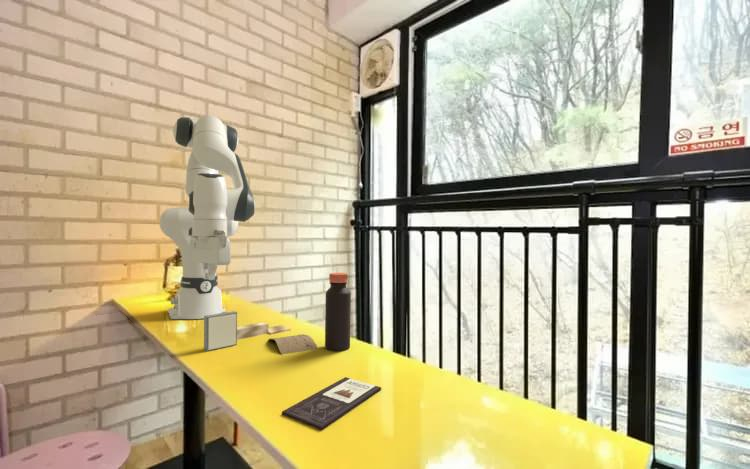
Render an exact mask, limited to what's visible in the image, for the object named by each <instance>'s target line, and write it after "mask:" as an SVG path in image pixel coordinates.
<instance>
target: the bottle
mask: <svg viewBox="0 0 750 469" xmlns="http://www.w3.org/2000/svg"><path fill="white" fill-rule="evenodd" d="M348 275H349V274H348V273H345V272H331V273H329V276H328V277H329V279H328V281H329V285H330V287H329V288H328V289H327V290H326V292H325V307H324V308H325V313H324V317H325V318H324V325H325V326H324V347H325V349H326V350H328V351H332V352H342V351H345V350H349V348H350V347H351V302H352V300H351V299H352V298H351V295H352V293H351V290H350V289H348V287H347V284H348V281H349V280H348V279H349V278H348V277H349V276H348Z"/></svg>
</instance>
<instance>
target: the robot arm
mask: <svg viewBox="0 0 750 469" xmlns="http://www.w3.org/2000/svg"><path fill="white" fill-rule="evenodd" d="M172 133H173V137H174V140H175V143H177V145H179V146H181V147H185V148H187V147H188V148H191V149H192V151H191V152H190V154H189V158H188V161H187V165H186V166H187V167H186V175H185V176H186V177H185V193H186V195H187V196H188V198H189V200H188V202H189V203H188V207H186V206H185V207H181V206H178V207H172V208H166V209H165V210H164V211H163V212H162V213H161V215H160V217H159V222H158V224H159V229H160V230H161V232H162V233H163V234H164V235H165V236H166V237H168V238H169V239H170V240H172V241H173V243H175V245H176V246H177V247H178V249H179V251H180V252H179V253H180V254H181V255H180V256H181V261H182V262H181V264H182V277H181V279H180V284H179V285H180V288H179V290H178V291H177V292H176V294H175V296H174V297H171V298H170V305H173V307H170V308H168V309H167V314H168V313H169V314H168V316H169V318H170V319H171V320H199V319H201V320H202V319H204V316H205V315H212V314H219V313H225V312H226V311H227V309H226V308H225V307H223V300H222V299H223V298H222V290H221V289H220V288H219V287H218V285H219V284H218V283H219V278H218V275H217V269H218V266H229V265H230V264H231V261H232V254H231V253H232V251H231V241H230V238H229V237H232V236H233V235H235V234H236V232H237V230H238V228H239V222H240V223H241V222H242V223H245V222H247V221H248V220H250V219H251V218H252V217H254V215H255V212H256V201H255V198H254V195H253V193H252V190H251V188H250V186H249V183H248V180H247V176H246V174H245V170H244V167H243V164H242V161H241V158H240V156H239V155H238V154H237V153H235V151H236V149H237V148H238V145H239V135H238V131H237V129H236V128H235V127H233V126H230V125H225V124H224V123H223V120H222V121H221V119H220V118H218V117H216V116H214V115H209V114H207V115H203V116H201V117H199V118H198V119H197V118H191V117H189V116H188V117H186V116H184V117H180V118H177V119H176V122H175V123H174V125H173V129H172ZM219 172H221V173H223V174H225V175H227V176H228V177H230V179H231V182H232V184H233V187H234V189H233V188H230V189H229V188H227V182H226V177H225V176H224V175H222V174H219Z"/></svg>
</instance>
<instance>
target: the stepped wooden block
mask: <svg viewBox="0 0 750 469" xmlns="http://www.w3.org/2000/svg"><path fill="white" fill-rule="evenodd" d="M289 331H292V328H290V327H287V326H285V325H282V324H280V325H274V326H269V323H267V322H264V321H263V322H258V323H251V324H250V323H249V324H246V325H245V324H244V325H240V326H237V341H238V340H243V339H248V338H252V337H253V338H254V337H257V336H263V335H267V334H268V335H277V334H279V333H284V332H289Z"/></svg>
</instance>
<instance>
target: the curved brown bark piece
mask: <svg viewBox="0 0 750 469" xmlns="http://www.w3.org/2000/svg"><path fill="white" fill-rule="evenodd" d="M274 341H275V343H276V345H277V348H278V350H279V353H280V354H281V355H287V354H292V353H293V354H294V353H299V352H300V353H301V352H306V351H312V350H313V351H315V350H318V346H317V344H316V342H315V340H314V338H312V337H311V336H310V335H308V334H303V333H302V334H297V335H290V336H288V335H287V336H281V337H275V338H273V337H272V338H269V339H267V342H274Z"/></svg>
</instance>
